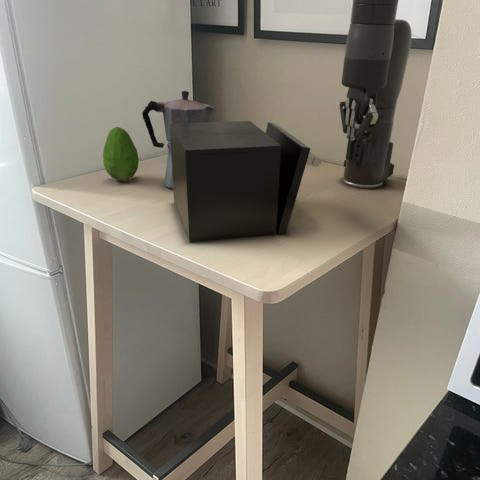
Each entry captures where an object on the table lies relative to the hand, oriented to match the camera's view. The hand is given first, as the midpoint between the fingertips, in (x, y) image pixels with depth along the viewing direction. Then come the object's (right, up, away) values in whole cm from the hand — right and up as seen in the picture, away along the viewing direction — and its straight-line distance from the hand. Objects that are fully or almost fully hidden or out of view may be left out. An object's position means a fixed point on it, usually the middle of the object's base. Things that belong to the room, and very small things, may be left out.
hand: (352, 161), depth 92 cm
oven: (-24, -10, +5) cm, 27 cm away
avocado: (-48, +3, +25) cm, 54 cm away
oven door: (-14, -9, +8) cm, 18 cm away
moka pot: (-34, +1, +22) cm, 40 cm away
